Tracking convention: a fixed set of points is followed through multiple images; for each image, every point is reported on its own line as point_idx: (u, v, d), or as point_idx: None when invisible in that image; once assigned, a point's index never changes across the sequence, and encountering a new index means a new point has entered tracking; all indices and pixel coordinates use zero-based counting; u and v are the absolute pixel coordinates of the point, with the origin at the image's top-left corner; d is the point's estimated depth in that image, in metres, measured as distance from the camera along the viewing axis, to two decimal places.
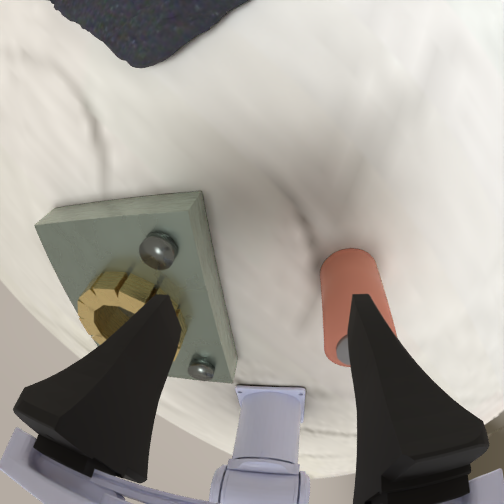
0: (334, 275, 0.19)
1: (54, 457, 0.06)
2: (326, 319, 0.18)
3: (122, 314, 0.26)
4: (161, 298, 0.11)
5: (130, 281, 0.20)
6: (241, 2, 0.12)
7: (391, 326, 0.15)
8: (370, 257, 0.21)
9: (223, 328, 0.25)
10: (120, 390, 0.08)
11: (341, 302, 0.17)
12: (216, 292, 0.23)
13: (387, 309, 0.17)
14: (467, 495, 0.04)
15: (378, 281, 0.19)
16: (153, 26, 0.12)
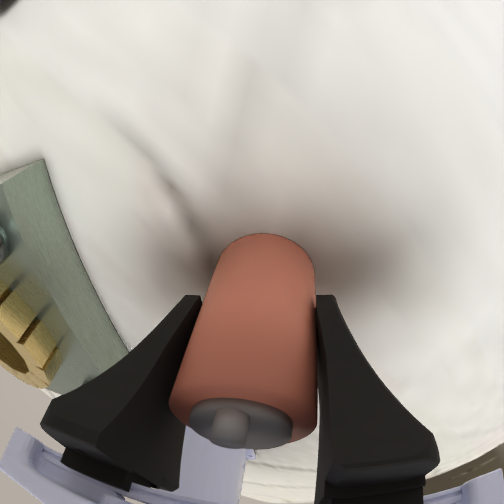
0: (216, 281, 0.11)
1: (86, 472, 0.06)
2: None
3: None
4: (192, 299, 0.11)
5: None
6: None
7: (295, 397, 0.07)
8: (295, 249, 0.12)
9: (104, 348, 0.16)
10: (157, 397, 0.08)
11: (201, 334, 0.09)
12: (81, 300, 0.15)
13: (299, 355, 0.08)
14: (467, 495, 0.04)
15: (296, 293, 0.10)
16: None
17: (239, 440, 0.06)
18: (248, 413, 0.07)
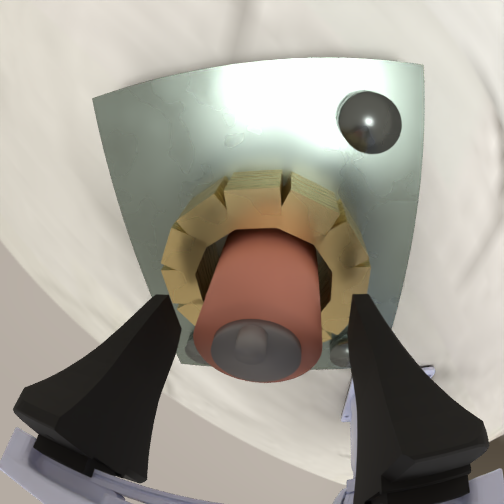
0: (233, 235, 0.13)
1: (54, 457, 0.06)
2: None
3: None
4: (161, 298, 0.11)
5: (298, 180, 0.11)
6: None
7: (306, 317, 0.09)
8: None
9: None
10: (120, 390, 0.08)
11: (224, 272, 0.11)
12: None
13: (306, 288, 0.10)
14: (467, 495, 0.04)
15: (302, 245, 0.12)
16: None
17: (260, 350, 0.08)
18: (266, 331, 0.09)
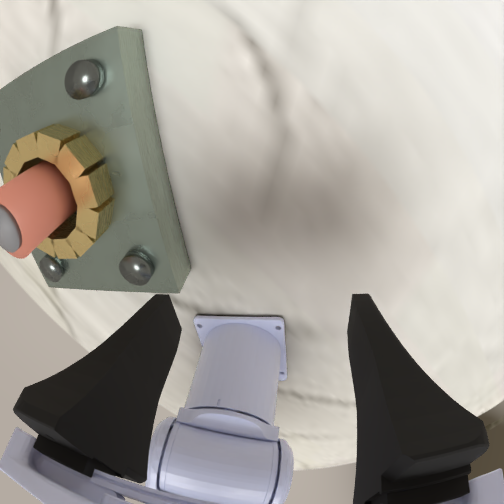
0: None
1: (54, 457, 0.06)
2: None
3: None
4: (161, 298, 0.11)
5: (53, 128, 0.14)
6: None
7: (9, 199, 0.12)
8: None
9: (162, 200, 0.19)
10: (120, 390, 0.08)
11: None
12: (151, 144, 0.17)
13: (26, 187, 0.13)
14: (467, 495, 0.04)
15: (51, 168, 0.15)
16: None
17: None
18: None
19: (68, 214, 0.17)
